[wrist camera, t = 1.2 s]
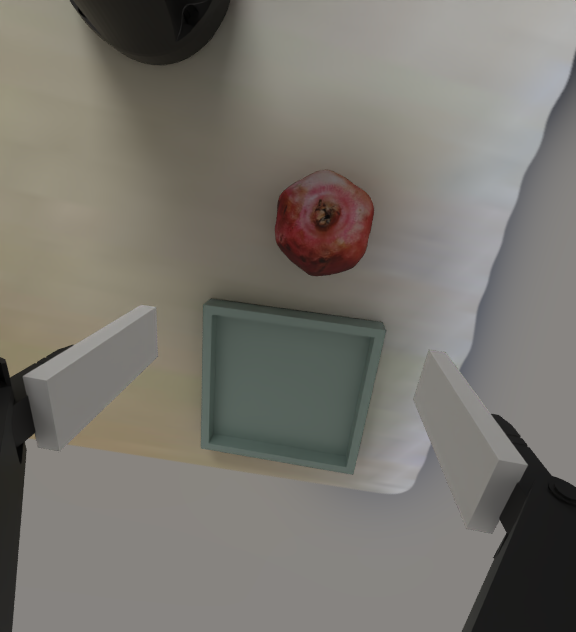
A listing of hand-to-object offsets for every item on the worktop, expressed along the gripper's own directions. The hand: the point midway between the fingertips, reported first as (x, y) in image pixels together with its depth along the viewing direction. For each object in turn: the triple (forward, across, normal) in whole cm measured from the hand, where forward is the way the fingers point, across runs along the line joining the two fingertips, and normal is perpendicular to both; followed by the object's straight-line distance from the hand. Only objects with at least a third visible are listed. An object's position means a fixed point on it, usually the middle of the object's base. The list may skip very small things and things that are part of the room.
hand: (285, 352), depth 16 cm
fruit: (+22, +1, +4) cm, 22 cm away
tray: (+21, -1, -16) cm, 26 cm away
